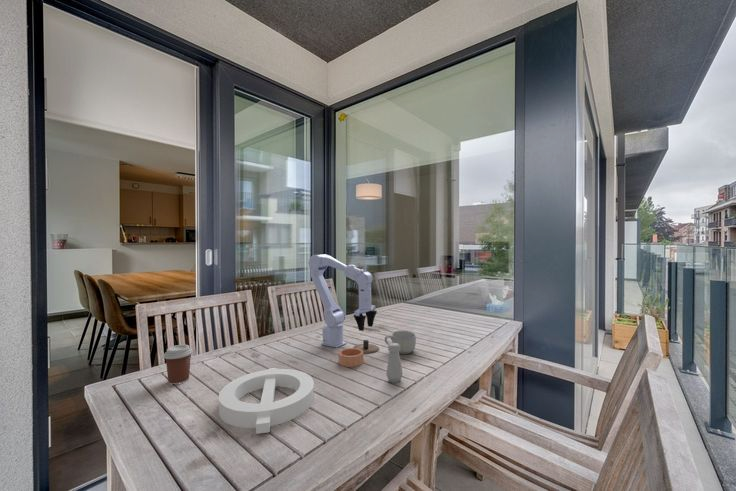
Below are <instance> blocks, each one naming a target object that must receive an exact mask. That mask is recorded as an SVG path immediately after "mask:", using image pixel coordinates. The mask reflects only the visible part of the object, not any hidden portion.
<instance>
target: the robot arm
mask: <svg viewBox="0 0 736 491" xmlns="http://www.w3.org/2000/svg"><path fill="white" fill-rule="evenodd" d="M308 266H309V270H310V278H311V280H312V283H313V284H314V286H315V289H316V292H317V293H318V296H319V298H320V301H321V303H322V305H323V307H324V311H323V316H324V323H325V325H324V326H323V328H322V343H321V345H322V346H326V347H332V348H336V349H337V348H339V347H342V346H344V345H347V343H348V342H347V341H344V322H345V321H346V313H345V312H344V311H343V310H342V309H341V306H340V305H338V304H336V302H335V300H334V299H335V298H334V297H333V295H332V293H331V291H330V288H329V286H328V284H327V281H326V279H325V277H324V272H325V271H326V269H327V268H328V267H331V268H334V269H337V270H339V272H340V271H341V272H343V274H344V276H345V277H347V278H348V279H351V280H352V281H354V282H356V284H357V285H358V309H356V310H354V314H353V318H354V320H355V322H356V324H357V328H358V331H361V332H363V331H364V330H365V322H367V326H368V327H371V328H372V327H373V325H374V320H375V318H376V315H377V313H378V312H377V310H376V304H375V305H373V304H372V282H373V279H374V276H373V274H372V273H371V272H370V271H367V270H366V271H365V270H364V269H360V268H358V267H356V265H355V264H348V265H346V264H345V263H343V262H341V261H339V260H338V259H336V258H334V257H332V256H331V255H329V254H326V253H324V254H313V255H311V256H310V258H309V261H308ZM364 314H365V315H364Z"/></svg>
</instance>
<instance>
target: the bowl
mask: <svg viewBox="0 0 736 491" xmlns="http://www.w3.org/2000/svg"><path fill="white" fill-rule="evenodd" d="M338 364H339V365H340V366H343V367H345V368H353V367H354V368H355V367H359V366H362V365H363V364H364V354H363V350H361V349H358V348H353V347H347V348H342V349H341V350H339V351H338Z"/></svg>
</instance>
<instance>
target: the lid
mask: <svg viewBox="0 0 736 491" xmlns="http://www.w3.org/2000/svg"><path fill="white" fill-rule="evenodd" d="M352 348H358V349H361V350H363V355H364V354H365V355H368V354H374V353H377V352H378V351H379V350H380V347H379V346H377V344H372V343H369V340H368V339H363V340H362V343H359V344H356V345H354V346H353V347H352Z"/></svg>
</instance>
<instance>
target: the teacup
mask: <svg viewBox="0 0 736 491" xmlns="http://www.w3.org/2000/svg"><path fill="white" fill-rule="evenodd" d="M388 338H389V339H390V340H391V343H397V344H399V345H400V351H399V355H400V354H401V355H407V354H411V353H412V352H413V351H414V350H415V349H416V344H417V343H416V341H417V339H416V338H417V334H416V333H415V332H414V331H413V332H412V331H410V330H396V331H393V332H392V333H391V334H386V336H384V342H385V344H386V345H387V346H388V345H389V344H390V342H389V341H388Z"/></svg>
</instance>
